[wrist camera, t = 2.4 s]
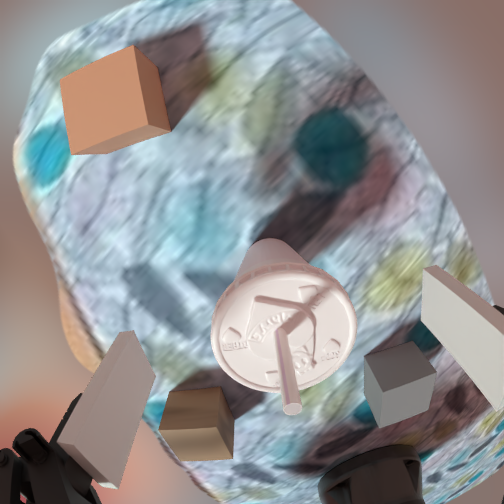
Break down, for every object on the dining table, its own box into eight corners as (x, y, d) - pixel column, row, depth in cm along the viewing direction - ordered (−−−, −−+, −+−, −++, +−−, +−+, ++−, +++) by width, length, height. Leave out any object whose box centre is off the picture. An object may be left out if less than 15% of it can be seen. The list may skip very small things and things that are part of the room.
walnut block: (234, 419, 26) (233, 458, 22) (187, 423, 27) (180, 461, 22) (220, 385, 25) (216, 427, 20) (169, 391, 25) (158, 430, 20)
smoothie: (285, 200, 20) (358, 285, 7) (329, 275, 22) (416, 416, 8) (206, 250, 21) (150, 394, 8) (255, 318, 23) (265, 483, 9)
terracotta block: (171, 131, 19) (148, 124, 14) (107, 153, 19) (71, 155, 14) (157, 67, 17) (133, 44, 12) (96, 92, 17) (59, 79, 13)
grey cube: (408, 377, 25) (428, 410, 21) (363, 392, 26) (379, 428, 21) (412, 340, 24) (437, 372, 19) (363, 355, 24) (382, 392, 19)
